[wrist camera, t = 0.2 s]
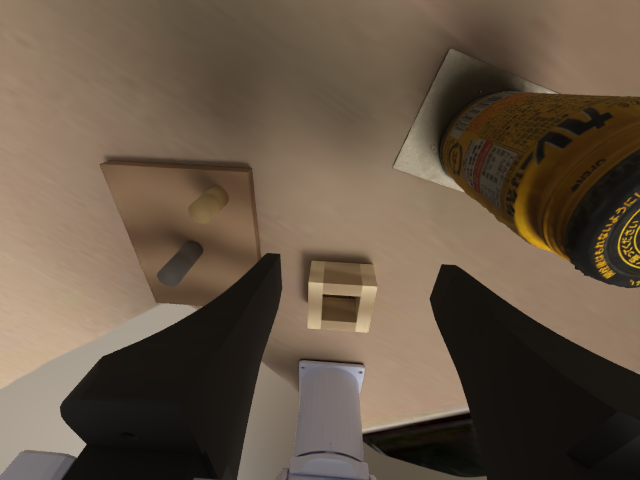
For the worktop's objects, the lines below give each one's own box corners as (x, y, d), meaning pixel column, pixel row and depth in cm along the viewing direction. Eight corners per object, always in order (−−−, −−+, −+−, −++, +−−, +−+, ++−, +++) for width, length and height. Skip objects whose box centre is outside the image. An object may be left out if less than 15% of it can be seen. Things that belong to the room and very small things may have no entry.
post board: (265, 302, 26) (251, 344, 22) (161, 295, 27) (128, 335, 22) (251, 168, 19) (227, 192, 15) (109, 160, 19) (46, 181, 15)
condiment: (493, 202, 20) (666, 330, 9) (392, 167, 19) (460, 266, 8) (569, 99, 16) (998, 123, 6) (448, 48, 15) (694, -34, 5)
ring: (364, 308, 26) (368, 332, 23) (310, 304, 26) (307, 328, 24) (372, 264, 23) (377, 286, 21) (311, 260, 23) (308, 282, 21)
